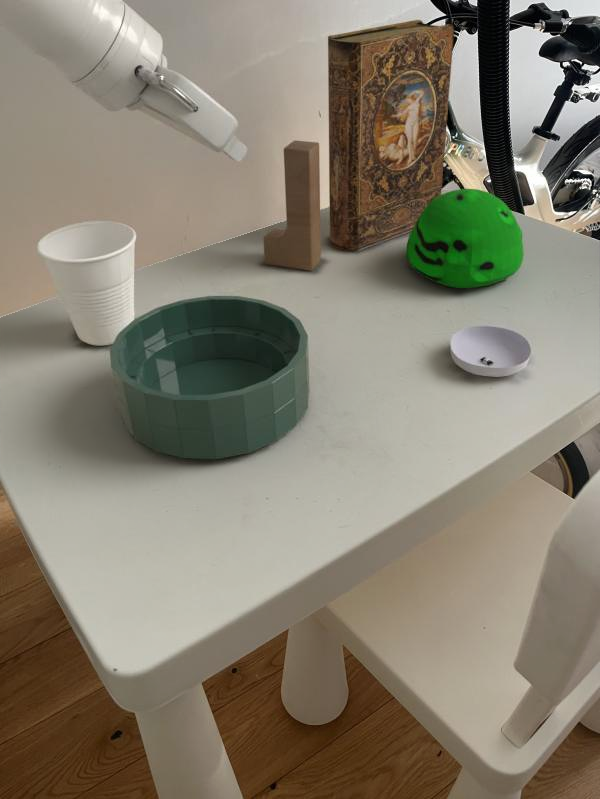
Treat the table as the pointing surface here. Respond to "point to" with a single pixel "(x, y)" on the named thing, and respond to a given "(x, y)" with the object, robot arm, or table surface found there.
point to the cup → (93, 276)
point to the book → (386, 128)
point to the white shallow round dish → (490, 351)
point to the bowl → (211, 376)
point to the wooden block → (298, 211)
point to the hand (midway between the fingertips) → (220, 144)
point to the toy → (466, 240)
